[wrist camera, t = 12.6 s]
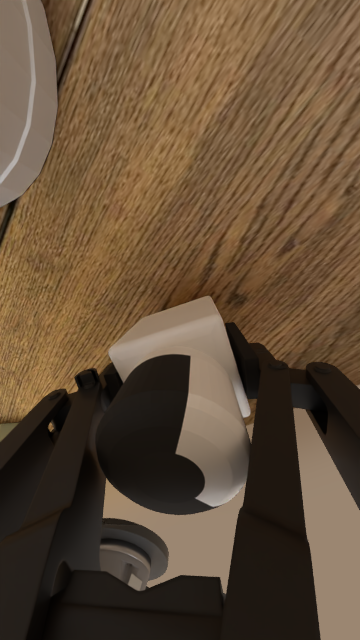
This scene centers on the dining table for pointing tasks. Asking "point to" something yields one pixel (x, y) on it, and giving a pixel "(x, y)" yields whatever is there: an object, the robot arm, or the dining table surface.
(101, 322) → the dining table surface
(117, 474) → the medicine bottle
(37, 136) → the dish
